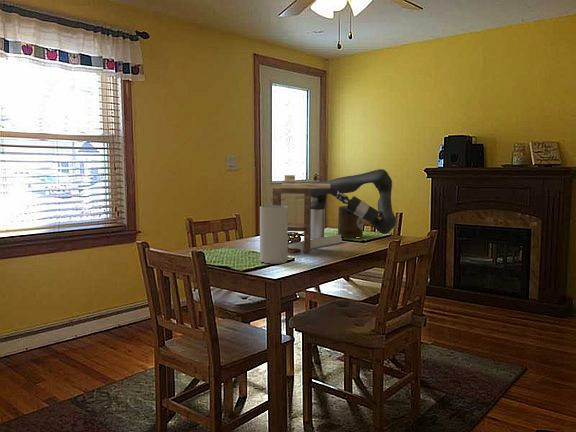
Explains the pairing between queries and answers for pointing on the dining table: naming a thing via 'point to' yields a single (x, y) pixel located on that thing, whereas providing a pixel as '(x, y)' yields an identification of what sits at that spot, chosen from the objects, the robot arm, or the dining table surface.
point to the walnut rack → (307, 212)
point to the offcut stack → (289, 179)
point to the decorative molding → (317, 242)
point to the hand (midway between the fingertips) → (329, 190)
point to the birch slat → (305, 186)
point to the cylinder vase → (274, 234)
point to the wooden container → (349, 224)
